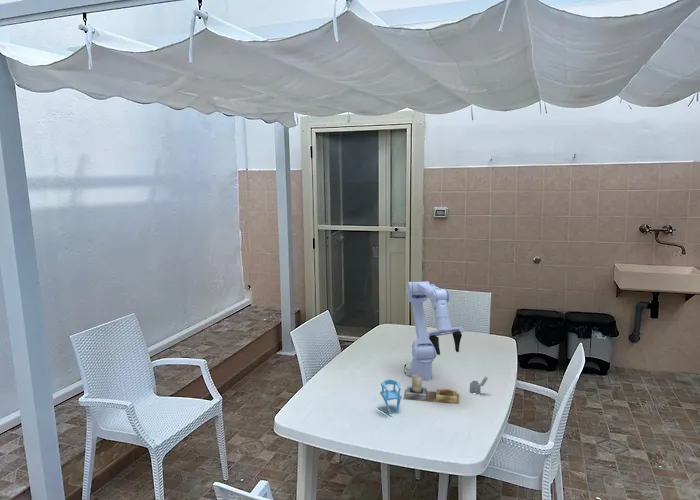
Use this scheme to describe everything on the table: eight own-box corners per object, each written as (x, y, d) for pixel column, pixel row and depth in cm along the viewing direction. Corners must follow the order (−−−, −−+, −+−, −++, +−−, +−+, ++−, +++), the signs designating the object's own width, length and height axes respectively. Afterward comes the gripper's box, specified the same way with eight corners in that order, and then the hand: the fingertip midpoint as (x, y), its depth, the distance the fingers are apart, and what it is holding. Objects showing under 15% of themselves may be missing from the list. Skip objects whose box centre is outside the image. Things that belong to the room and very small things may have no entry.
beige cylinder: (409, 394, 205) (409, 375, 204) (416, 392, 207) (417, 373, 206) (415, 398, 202) (416, 379, 201) (423, 395, 204) (423, 377, 203)
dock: (402, 401, 201) (403, 394, 200) (405, 391, 211) (405, 384, 210) (459, 406, 197) (459, 399, 196) (458, 396, 206) (459, 389, 206)
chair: (384, 417, 187) (385, 387, 185) (377, 408, 195) (377, 378, 193) (404, 415, 189) (404, 385, 188) (395, 405, 197) (396, 376, 195)
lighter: (469, 392, 210) (470, 374, 209) (470, 391, 211) (471, 373, 210) (486, 396, 206) (487, 377, 205) (487, 394, 208) (488, 376, 207)
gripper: (422, 320, 199) (426, 355, 195) (457, 314, 193) (463, 349, 189) (428, 322, 205) (432, 356, 201) (462, 316, 199) (468, 351, 195)
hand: (448, 353), depth 195 cm, fingers open, 7 cm apart
